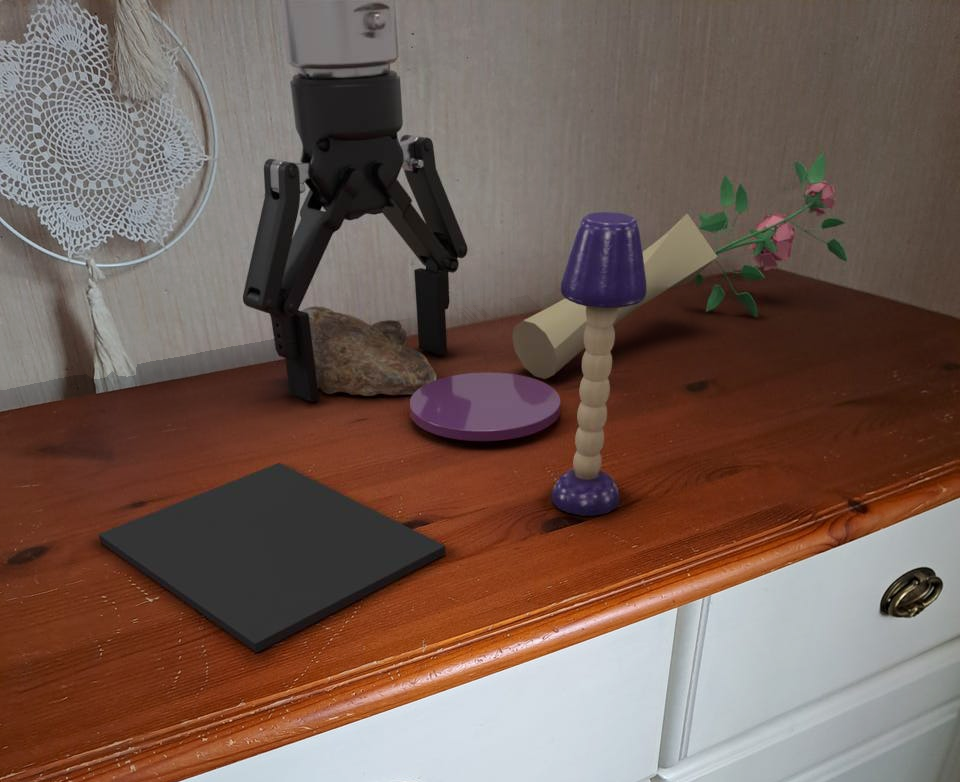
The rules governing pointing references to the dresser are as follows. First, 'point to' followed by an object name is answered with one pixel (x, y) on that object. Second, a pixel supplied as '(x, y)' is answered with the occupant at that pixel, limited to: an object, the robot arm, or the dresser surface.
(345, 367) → the brown rock
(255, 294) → the robot arm
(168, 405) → the dresser surface
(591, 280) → the toy lamp
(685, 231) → the flower vase
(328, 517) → the place mat
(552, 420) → the saucer
